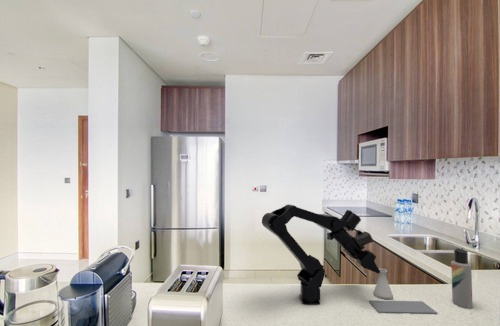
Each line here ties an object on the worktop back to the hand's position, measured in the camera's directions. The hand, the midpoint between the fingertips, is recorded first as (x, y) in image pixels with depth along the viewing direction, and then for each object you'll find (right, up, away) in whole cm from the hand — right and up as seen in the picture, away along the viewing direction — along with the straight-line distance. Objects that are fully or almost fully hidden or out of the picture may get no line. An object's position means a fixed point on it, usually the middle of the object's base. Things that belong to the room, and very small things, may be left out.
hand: (373, 268), depth 100 cm
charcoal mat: (+5, -10, -10) cm, 15 cm away
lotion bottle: (+29, -11, -7) cm, 32 cm away
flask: (+3, -11, -1) cm, 11 cm away
